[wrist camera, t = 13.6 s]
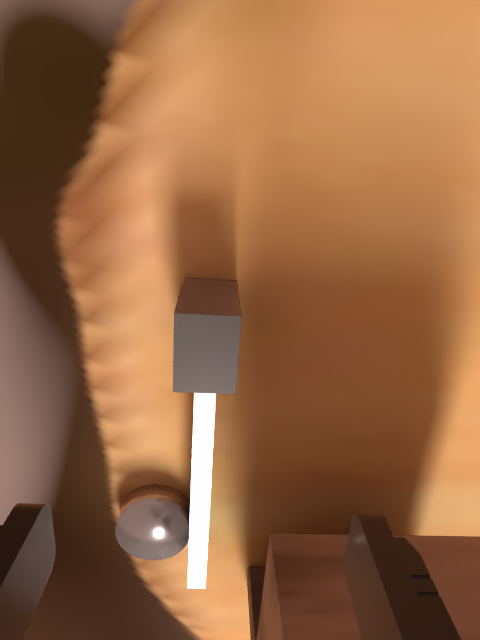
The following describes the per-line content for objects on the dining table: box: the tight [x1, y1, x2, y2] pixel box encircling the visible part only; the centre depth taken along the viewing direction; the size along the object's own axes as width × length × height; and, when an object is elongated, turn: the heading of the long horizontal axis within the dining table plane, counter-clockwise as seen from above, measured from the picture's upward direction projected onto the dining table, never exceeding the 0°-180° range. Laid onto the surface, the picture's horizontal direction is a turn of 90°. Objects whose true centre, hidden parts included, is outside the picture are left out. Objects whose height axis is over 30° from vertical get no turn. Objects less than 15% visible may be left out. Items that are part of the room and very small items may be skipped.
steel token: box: [115, 485, 190, 560], centre depth 30 cm, size 5×5×2 cm
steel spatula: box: [173, 278, 242, 588], centre depth 25 cm, size 20×3×6 cm, turn 176°
